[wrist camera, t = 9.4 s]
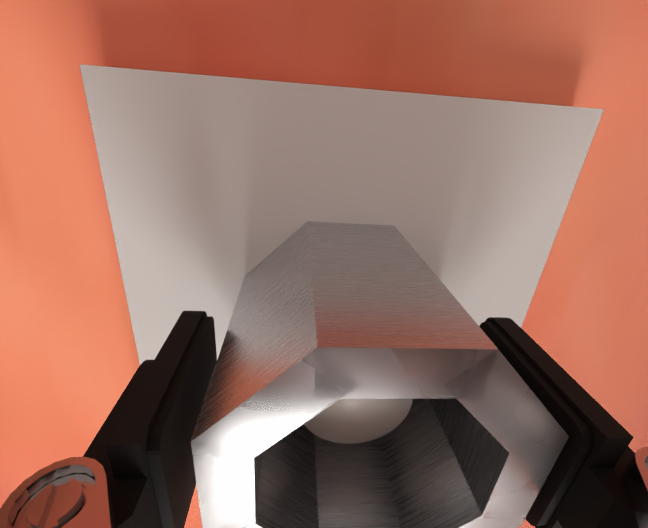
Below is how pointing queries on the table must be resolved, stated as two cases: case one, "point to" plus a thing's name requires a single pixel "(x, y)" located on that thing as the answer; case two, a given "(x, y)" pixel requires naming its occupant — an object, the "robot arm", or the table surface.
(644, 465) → the robot arm
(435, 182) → the flange plate
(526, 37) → the table surface
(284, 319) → the collar
